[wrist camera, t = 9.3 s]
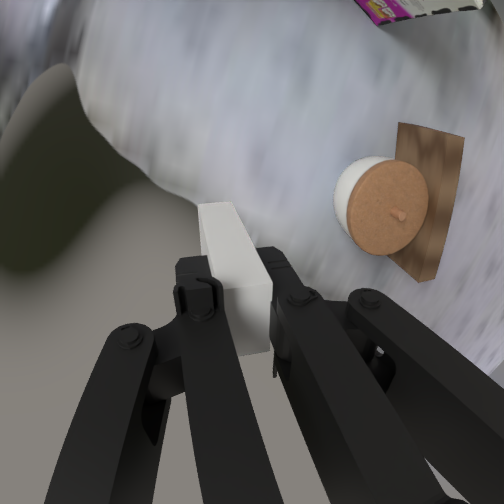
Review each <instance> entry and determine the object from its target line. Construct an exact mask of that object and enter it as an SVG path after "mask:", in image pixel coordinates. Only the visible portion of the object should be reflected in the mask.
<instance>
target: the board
mask: <svg viewBox="0 0 504 504" xmlns="http://www.w3.org/2000/svg"><path fill="white" fill-rule="evenodd" d="M464 139H465V138H464V137H460V136H457V135H453V134H450V133H446V132H442V131H439V130H435V129H431V128H427V127H423V126H418V125H413V124H407V123H401V122H398V133H397V144H396V153H395V159H396V160H400V161H404V162H407V163H409V164H411V165H413V166H414V167H416V168H417V169H418V170H419V171H420V173H421V174H422V176H423V177H424V179H425V182H426V185H427V189H428V196H429V199H428V209H427V213H426V217H425V220H424V222H423V224H422V226H421V228H420V230H419V231H418V233H417V234H416V236H415V237H414V238H413V239H412V240H411V241H410V242H409V243H408V244H407V245H406V246H405V247H403V248H402V249H400V250H398V251H397V252H394V253H392V254H388V255H387V256H388V257H389V258H391V259H392V260H393V261H394V262H395V263H396V264H398V265H399V266H400V267H401V268H402V269H403V270H405V271H406V272H407V273H408V274H409V275H410V276H411V277H413V278H414V279H415V280H416V281H417V282H418V283H419V282H424V281H428V280H433V279H435V276H436V273H437V270H438V266H439V263H440V259H441V256H442V252H443V248H444V244H445V241H446V237H447V233H448V228H449V224H450V220H451V215H452V211H453V206H454V201H455V196H456V191H457V186H458V180H459V174H460V168H461V161H462V155H463V147H464Z"/></svg>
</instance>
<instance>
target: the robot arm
mask: <svg viewBox="0 0 504 504" xmlns="http://www.w3.org/2000/svg"><path fill="white" fill-rule="evenodd" d="M198 214H199V227H200V240H201V251H202V256H193V257H185V258H180V259H179V261H178V263H177V264H176V266H175V270H176V285H175V287H174V290H173V295H174V300H175V306H176V312H177V315H176V317H175V318H174V319H173V320H172V321H171V322H170V323H168V324H167V325H165V326H163V327H161V328H158V329H155V330H153V331H152V330H151V329H150V328H149V327H147V326H146V325H143V324H139V323H130V324H125V325H122V326H119V327H118V328H116V329H115V330H113V331H112V332H111V334H110V335H109V336H108V338H107V340H106V342H105V344H104V346H103V349H102V351H101V353H100V355H99V357H98V360H97V362H96V364H95V366H94V369H93V371H92V373H91V376H90V378H89V381H88V383H87V385H86V387H85V390H84V392H83V395H82V397H81V400H80V402H79V405H78V407H77V410H76V412H75V415H74V417H73V420H72V422H71V425H70V428H69V430H68V433H67V436H66V438H65V441H64V444H63V447H62V449H61V452H60V455H59V458H58V461H57V464H56V467H55V470H54V473H53V476H52V479H51V482H50V486H49V489H48V492H47V495H46V499H45V502H44V504H152V502H153V495H154V489H155V483H156V478H157V472H158V466H159V461H160V455H161V450H162V444H163V439H164V434H165V429H166V423H167V419H168V414H169V409H170V404H171V397H173V396H175V395H178V394H180V393H183V392H185V395H186V402H187V409H188V416H189V424H190V430H191V436H192V442H193V449H194V455H195V461H196V466H197V472H198V478H199V483H200V488H201V493H202V498H203V503H204V504H284V502H283V499H282V497H281V494H280V491H279V488H278V485H277V482H276V479H275V476H274V473H273V470H272V467H271V464H270V461H269V458H268V455H267V451H266V449H265V445H264V442H263V439H262V436H261V433H260V430H259V427H258V423H257V420H256V417H255V413H254V410H253V407H252V404H251V400H250V397H249V394H248V391H247V387H246V384H245V380H244V377H243V373H242V370H241V367H240V363H239V360H238V356H244V355H250V354H256V353H261V352H267V351H270V340H271V343H272V345H273V348H274V361H273V378H275V377H276V376H277V371H278V374H279V376H280V379H281V381H282V384H283V386H284V389H285V392H286V394H287V397H288V399H289V402H290V404H291V407H292V409H293V412H294V415H295V417H296V419H297V422H298V425H299V427H300V429H301V432H302V435H303V437H304V440H305V442H306V445H307V447H308V450H309V452H310V454H311V457H312V459H313V462H314V464H315V467H316V469H317V471H318V474H319V477H320V479H321V482H322V484H323V486H324V488H325V491H326V493H327V496H328V498H329V501H330V503H331V504H468V503H467V502H465V501H463V500H459V499H454V498H450V497H449V496H447V495H446V494H445V492H444V491H443V489H442V487H441V486H440V484H439V482H438V481H437V479H436V478H435V475H434V474H433V472H432V470H431V469H430V467H429V465H428V463H427V462H426V460H427V461H428V462H429V463H430V464H431V465H432V466H433V467H434V468H435V469H436V470H437V471H438V472H439V473H440V474H441V475H442V476H443V477H444V478H445V479H446V480H447V481H448V482H449V483H450V484H451V485H452V486H453V487H454V488H455V489H456V490H457V491H458V492H459V493H460V494H461V495H462V496H463V497H464V498H465V499H466V500H467V501H468V502H469V503H470V504H504V389H503V388H502V387H501V386H499V385H498V384H497V383H496V382H494V381H493V380H492V379H491V378H490V377H489V376H487V375H486V374H485V373H484V372H483V371H481V370H480V369H479V368H478V367H477V366H475V365H474V364H473V363H472V362H470V361H469V360H468V359H467V358H465V357H464V356H463V355H462V354H461V353H459V352H458V351H457V350H456V349H454V348H453V347H452V346H451V345H449V344H448V343H447V342H446V341H444V340H443V339H442V338H440V337H439V336H438V335H437V334H435V333H434V332H433V331H432V330H430V329H429V328H428V327H426V326H425V325H424V324H423V323H421V322H420V321H419V320H417V319H416V318H415V317H414V316H412V315H411V314H410V313H408V312H407V311H406V310H404V309H403V308H402V307H400V306H399V305H398V304H397V303H395V302H394V301H393V300H391V299H390V298H389V297H387V296H386V295H385V294H383V293H381V292H379V291H377V290H374V289H369V288H361V289H357V290H354V291H353V292H351V293H350V295H349V297H348V302H346V301H329V300H324V299H323V298H322V296H321V295H320V294H319V293H318V292H317V291H316V290H314V289H312V288H310V287H306V286H304V285H303V283H302V282H301V280H300V279H299V277H298V276H297V274H296V272H295V271H294V269H293V268H292V267H291V265H290V263H289V262H288V261H287V258H286V257H285V255H284V254H283V252H281V251H280V250H278V249H277V248H275V247H273V246H272V247H263V248H255V247H254V245H253V243H252V241H251V239H250V237H249V235H248V233H247V231H246V230H245V228H244V226H243V224H242V222H241V220H240V218H239V216H238V214H237V212H236V210H235V208H234V206H233V204H232V202H231V201H228V202H217V203H207V204H198ZM378 346H379V347H380V348H381V349H382V350H383V351H384V354H381V353H379V352H378V351H377V347H378ZM425 459H426V460H425Z"/></svg>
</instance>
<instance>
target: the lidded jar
mask: <svg viewBox="0 0 504 504" xmlns="http://www.w3.org/2000/svg"><path fill="white" fill-rule="evenodd" d="M428 199H429V196H428V189H427V185H426V182H425V179H424V177H423V176H422V174H421V173H420V171H419V170H418V169H417V168H416V167H414V166H413V165H411V164H409V163H407V162H404V161H400V160H396V159H393V158H389V157H383V156H369V157H364V158H361V159H359V160H356V161H355V162H353V163H351V164H350V165H349V166H348V167H347V168H346V169H345V170H344V171H343V172H342V173H341V175H340V176H339V178H338V180H337V182H336V185H335V188H334V194H333V206H334V211H335V214H336V217H337V219H338V221H339V223H340V225H341V226H342V228H343V229H344V231H345V232H346V233H347V234H348V235H349V236H350V237H351V238H352V239H353V240H354V242H355V243H356V244H357V245H358V246H359V247H360V248H361V249H362V250H364V251H365V252H367V253H369V254H372V255H378V256H379V255H388V254H392V253H394V252H397V251H398V250H400V249H402V248H403V247H405V246H406V245H407V244H408V243H409V242H410V241H411V240H412V239H413V238H414V237H415V236H416V234H417V233H418V231H419V230H420V228H421V226H422V224H423V222H424V220H425V217H426V213H427V209H428Z"/></svg>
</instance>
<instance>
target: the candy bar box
mask: <svg viewBox="0 0 504 504" xmlns="http://www.w3.org/2000/svg"><path fill="white" fill-rule="evenodd" d="M355 1H356V2H357V4H358V5H359V6H360V7H361V8H362V9H363V10H364V11H365V12H366V14H367V15H368V16H369V17H370V18H371V19H372V20H373V22H374V23H375V24H376V25H377V26H379V25H384V24H388V23H392V22H397V21H402V20H407V19H412V18H417V17H422V16H429V15H435V14H443V13H450V12H457V11H467V10H477V9H481V8H482V6H483V5H484V4H485V2H486V1H487V0H355Z"/></svg>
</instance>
